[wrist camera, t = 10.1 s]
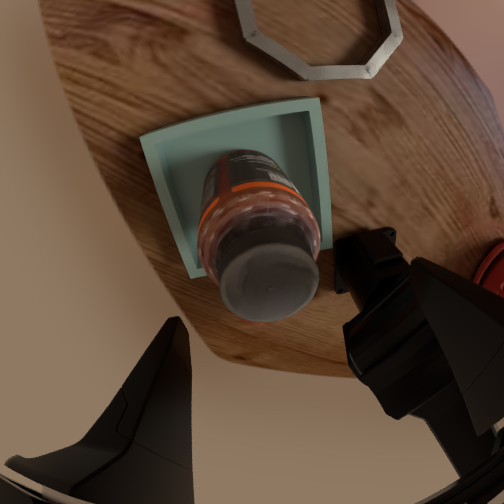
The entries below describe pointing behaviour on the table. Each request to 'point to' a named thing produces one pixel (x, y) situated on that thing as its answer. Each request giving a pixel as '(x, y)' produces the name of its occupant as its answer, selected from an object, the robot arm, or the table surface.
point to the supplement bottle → (257, 237)
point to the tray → (231, 139)
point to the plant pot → (492, 271)
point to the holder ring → (307, 73)
